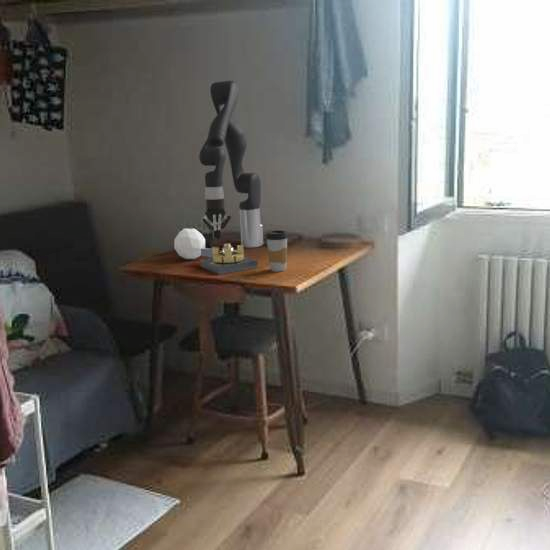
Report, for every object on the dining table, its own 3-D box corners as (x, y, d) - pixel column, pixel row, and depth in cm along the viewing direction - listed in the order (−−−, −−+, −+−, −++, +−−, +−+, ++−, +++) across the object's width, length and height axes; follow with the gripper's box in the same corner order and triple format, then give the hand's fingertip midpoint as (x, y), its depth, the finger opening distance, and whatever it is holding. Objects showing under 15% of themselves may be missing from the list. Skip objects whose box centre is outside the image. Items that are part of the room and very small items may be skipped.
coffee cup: (276, 266, 289) (275, 229, 286) (293, 268, 284) (291, 231, 281) (263, 270, 283) (261, 233, 280) (279, 273, 278) (278, 234, 274)
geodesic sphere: (162, 245, 312) (172, 222, 304) (187, 240, 322) (197, 217, 313) (180, 268, 306) (190, 245, 298) (205, 262, 316) (216, 240, 307)
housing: (237, 260, 303) (236, 241, 301) (257, 267, 289) (256, 248, 287) (200, 266, 295) (199, 247, 293) (219, 274, 280) (218, 254, 279)
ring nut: (250, 257, 292) (249, 245, 290) (229, 264, 282) (228, 251, 281) (213, 252, 305) (212, 240, 303) (192, 258, 295) (191, 246, 294)
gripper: (227, 195, 302) (229, 236, 306) (196, 197, 298) (199, 239, 302) (233, 197, 296) (235, 239, 300) (201, 199, 291) (204, 242, 295)
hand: (216, 239), depth 301 cm, fingers closed
